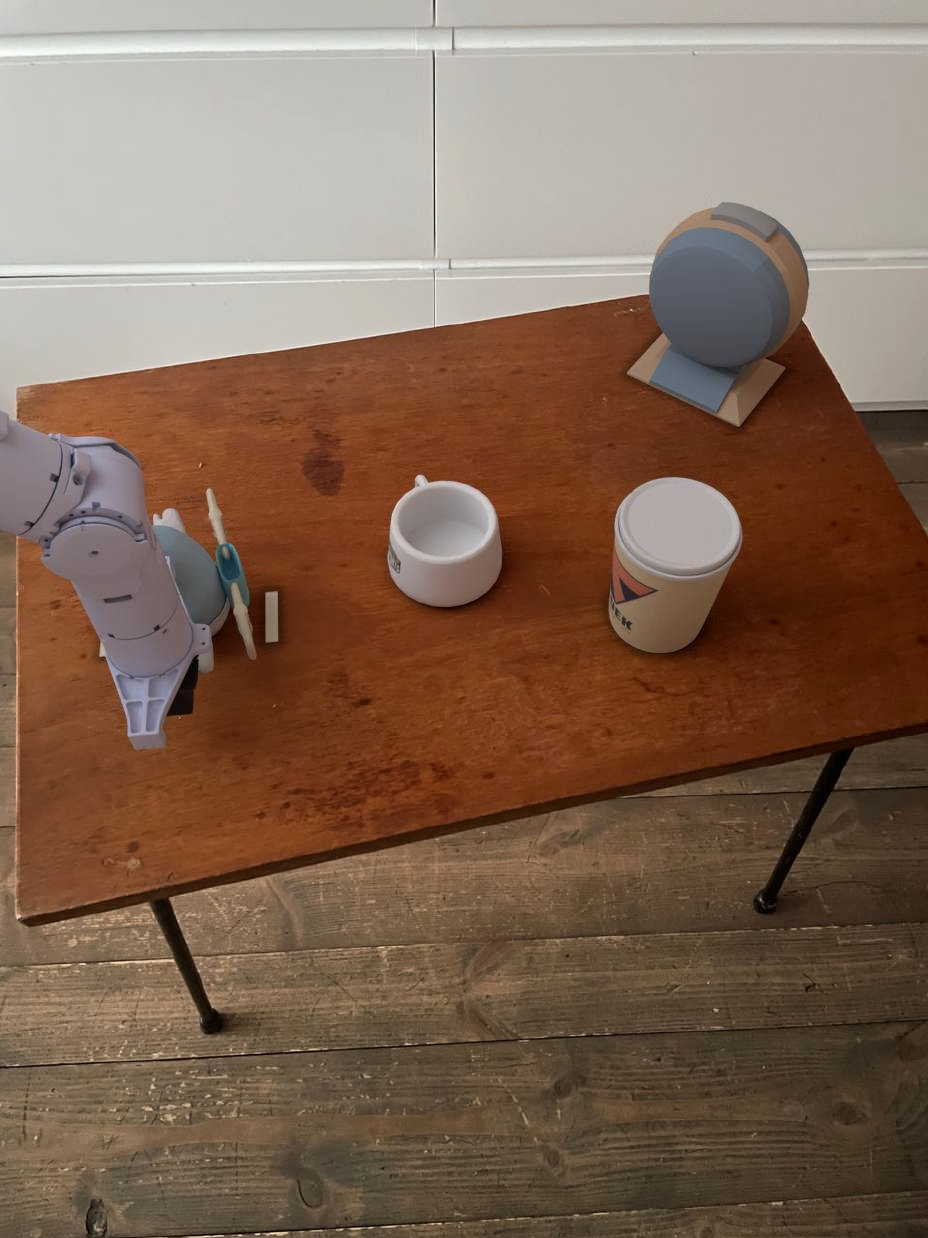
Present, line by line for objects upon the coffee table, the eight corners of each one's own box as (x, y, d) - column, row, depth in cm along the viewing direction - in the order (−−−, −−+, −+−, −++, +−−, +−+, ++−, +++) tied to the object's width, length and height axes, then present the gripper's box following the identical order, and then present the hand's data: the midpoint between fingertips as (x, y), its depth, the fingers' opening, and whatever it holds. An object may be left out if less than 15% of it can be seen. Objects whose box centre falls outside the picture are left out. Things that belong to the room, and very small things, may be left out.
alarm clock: (794, 373, 104) (849, 214, 89) (748, 431, 99) (798, 274, 85) (666, 316, 108) (699, 156, 94) (617, 369, 104) (643, 210, 89)
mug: (518, 593, 88) (522, 548, 84) (408, 625, 87) (405, 581, 82) (470, 490, 95) (470, 443, 90) (366, 518, 93) (361, 471, 88)
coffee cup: (588, 575, 90) (604, 479, 80) (696, 564, 90) (726, 468, 80) (610, 668, 84) (631, 578, 74) (725, 656, 85) (760, 565, 75)
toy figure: (111, 563, 90) (56, 438, 78) (233, 533, 92) (199, 407, 80) (141, 728, 81) (85, 615, 69) (275, 691, 83) (244, 575, 71)
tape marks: (99, 657, 85) (99, 656, 85) (104, 606, 88) (104, 605, 87) (278, 641, 86) (278, 641, 86) (277, 592, 88) (277, 591, 88)
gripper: (192, 694, 64) (231, 791, 76) (200, 512, 72) (234, 623, 84) (73, 705, 64) (130, 800, 75) (95, 520, 72) (144, 631, 83)
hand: (179, 708), depth 79 cm, fingers closed
